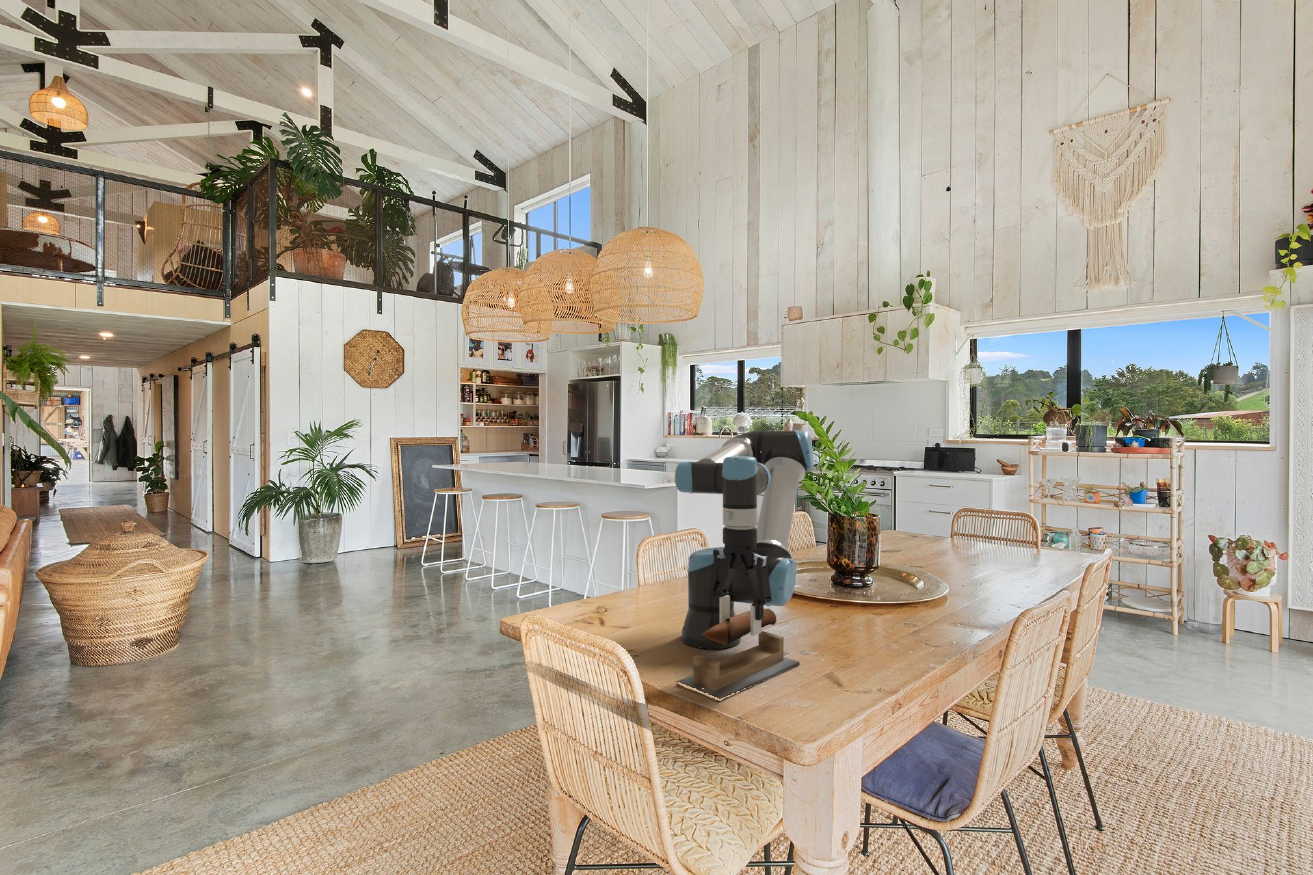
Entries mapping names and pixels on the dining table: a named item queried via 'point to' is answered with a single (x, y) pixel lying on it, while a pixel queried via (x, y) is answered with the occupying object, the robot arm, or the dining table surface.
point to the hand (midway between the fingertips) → (739, 629)
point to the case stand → (740, 668)
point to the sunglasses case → (737, 627)
